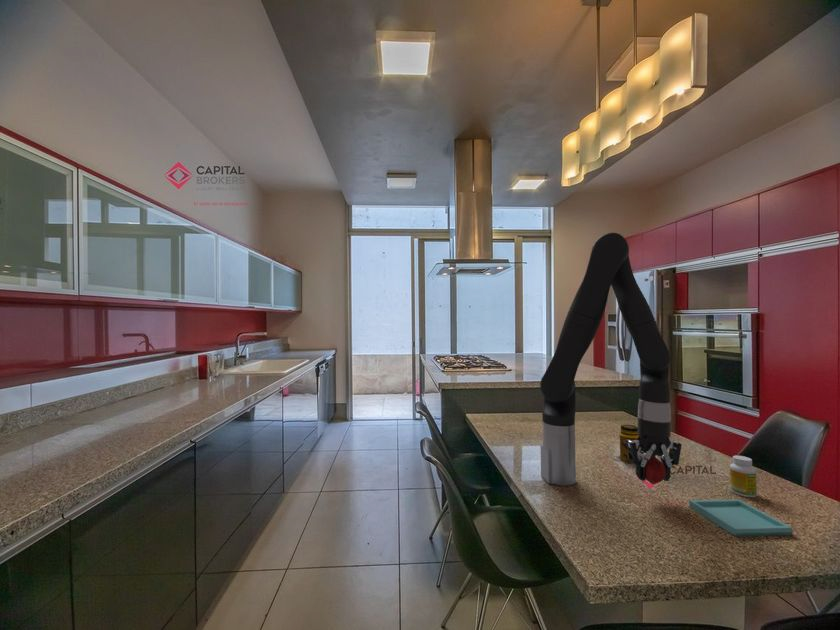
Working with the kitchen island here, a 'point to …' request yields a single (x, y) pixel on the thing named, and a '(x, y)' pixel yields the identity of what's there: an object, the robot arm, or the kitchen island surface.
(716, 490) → the kitchen island surface
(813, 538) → the kitchen island surface
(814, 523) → the kitchen island surface
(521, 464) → the kitchen island surface
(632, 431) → the condiment
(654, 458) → the dark red rounded piece
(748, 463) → the supplement bottle
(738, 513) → the tray
